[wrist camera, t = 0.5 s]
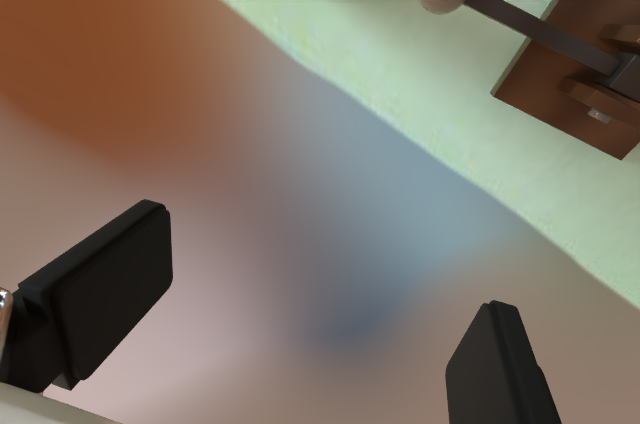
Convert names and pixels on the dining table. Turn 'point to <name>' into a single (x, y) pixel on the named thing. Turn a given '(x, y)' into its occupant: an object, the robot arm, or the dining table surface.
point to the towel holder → (578, 76)
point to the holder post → (557, 43)
